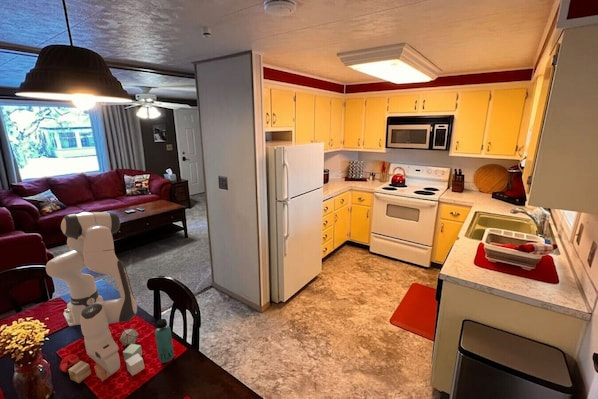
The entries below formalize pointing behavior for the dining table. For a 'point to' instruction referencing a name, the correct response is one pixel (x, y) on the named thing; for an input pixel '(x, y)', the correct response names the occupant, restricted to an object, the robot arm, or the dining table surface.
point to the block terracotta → (101, 372)
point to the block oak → (79, 371)
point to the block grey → (135, 364)
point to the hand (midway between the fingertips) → (105, 370)
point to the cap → (66, 360)
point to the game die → (129, 337)
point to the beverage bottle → (164, 341)
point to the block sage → (132, 351)
